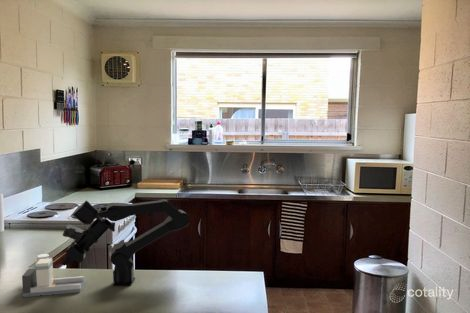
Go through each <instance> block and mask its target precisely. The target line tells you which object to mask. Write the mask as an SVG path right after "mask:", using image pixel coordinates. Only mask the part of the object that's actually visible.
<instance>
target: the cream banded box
mask: <svg viewBox="0 0 470 313" xmlns="http://www.w3.org/2000/svg"><path fill="white" fill-rule="evenodd" d="M37 261H38V260H37ZM37 261H36V262H37ZM36 262H35V264H36V276H37V287H44V286H51V285H52V284H53V279H54V267H53V266H54V264H53V263H54V262H53V257H49V258H47V259H40V260H39V261H38V262H37V263H36Z"/></svg>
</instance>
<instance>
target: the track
mask: <svg viewBox="0 0 470 313" xmlns="http://www.w3.org/2000/svg"><path fill="white" fill-rule="evenodd" d="M21 280H22V281H21V282H22V298H28V297H29V298H30V297H39V296H40V295H42V296H51V295H52V294H54V295H62V294H63V295H64V294H74V293H81V291H82V289H83V287H84V285H85V276H84V275H82V276H80V275H79V276H70V277H69V276H66V277H59V278H58V277H55V278H54V277H53V284H52V285H51V286H44V287H37V276H36V268H35V267H33V268H31V267H30V268H28V269H27V270H26V271H25V272H24V273H23V274H22V276H21ZM52 296H53V295H52Z"/></svg>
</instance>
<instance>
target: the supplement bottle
mask: <svg viewBox="0 0 470 313" xmlns="http://www.w3.org/2000/svg"><path fill="white" fill-rule="evenodd" d="M47 258H50V255H49V254H48V253H41V254H38V255H36V260H37V261H36V262H35V263H34V264H35V267H34V268H36V263H37V262H38V261H39V260H40V259H47Z"/></svg>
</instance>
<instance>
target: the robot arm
mask: <svg viewBox="0 0 470 313" xmlns="http://www.w3.org/2000/svg"><path fill="white" fill-rule="evenodd" d="M158 212H164V213H165V214H167V217H166V218H165V220H164V221H163V222H161V223H160V224H158V225H156V226H154V227H153V228H151V229H149V230H147V231H146V232H144V233H142V234H141V235H139V236H137V237H135V238H134V239H132V240H130V241H126V242H125V240H124V239H122V240H120V241H119V242H118V243H114V244H113V246H112V247H111V248H110V249H109V255H108V256H109V258H110V259H109V260H110V262H111V264H112V265H114V267H113V268H114V270H113V271H112V275H113V276H112V278H113V279H112V280H113V286H117V287H118V286H132V284H133V283H134V281H135V280H136V277H135V276H134V274H135V273H134V262H133V259H132V257H133V256H134V255H135V254H136V253H137V252H138V251H140V250H141V249H143V248H144V247H146V246H149V245H150V244H151V243H153V242H155V241H157V240H159V239H161V237H163V236H165V235H167V234H168V233H170V232H175V231H179V230H181V229H184V228H186V227H187V226H189V225H190V222H191V217H190V215H189V214H188V213H187V212H185V211H184V210H183V209H177V208H176V207H175V206H174V205H172V204H171V203H170V202H169V201H168V200H167V199H163V198H162V199H160V200H152V201H151V200H150V201H144V202H136V203H135V202H134V203H125V202H110V203H108V204H107V205H106V206H103V207H98V208H97V207H95V206H93V205H92V204H91V203H90V202H89V201H88V200H87V199H86V200H85V201H84V202H82V203H81V204H80V205H78V206H77V208H75V209H74V210H73V212H72V213H71V215H72V216H73V217H74V218H75V219H77V220H78V221H79V222H80V223H82V224H83V225H89V226H88V227H85V228H84V229H83V228H80V227H78V226H75V225H72V224H67V225H66V226H65V229H64V231H63V232H62V237H65V238H69V239H72V240H73V242H71V244H70V245H69V246H68V248H66V250H65V254H66V255H67V256H66V257H65V258H64V259H63V261H62V262H61V264H62V266H63V267H64V266H67V265H70V264H71V263H75V262H77V263H78V264H81V263H82V261H84V260H85V258H86V252H87V253H88V252H89V251H90V249H91V248H92V247H93V246H94V245H95V244H97V243H98V241H99V240H100V239H101V238H102V237H103V235H104V234H106V233H107V232H108V231H109V230H110V231H111V232H116V222H117V221H121V220H125V219H127V218H129V217H131V216H135V215H144V214H150V213H151V214H152V213H158Z"/></svg>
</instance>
